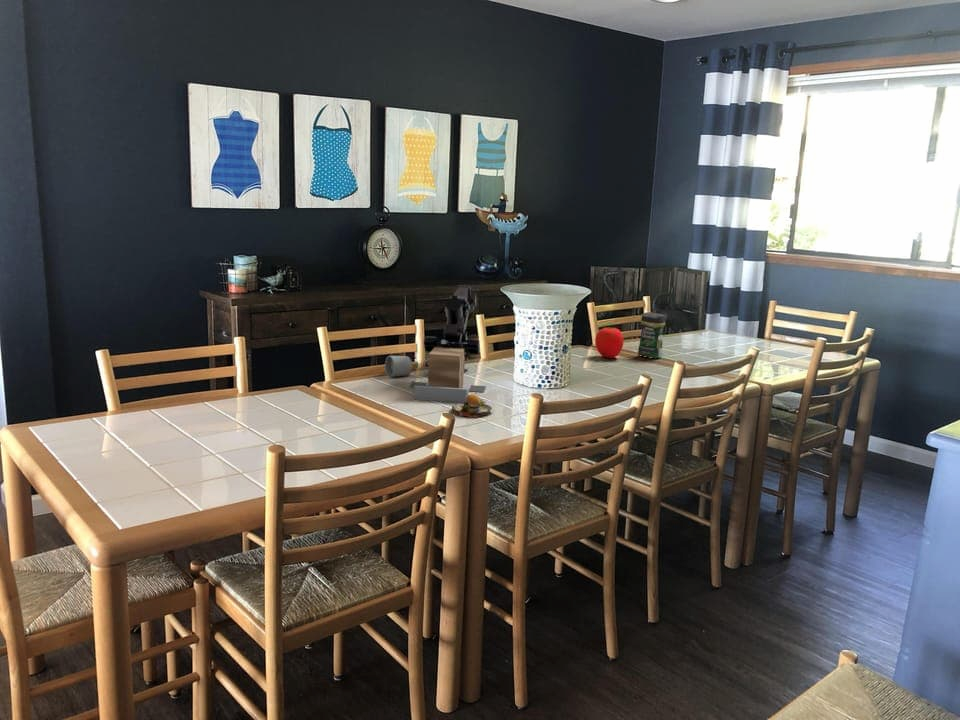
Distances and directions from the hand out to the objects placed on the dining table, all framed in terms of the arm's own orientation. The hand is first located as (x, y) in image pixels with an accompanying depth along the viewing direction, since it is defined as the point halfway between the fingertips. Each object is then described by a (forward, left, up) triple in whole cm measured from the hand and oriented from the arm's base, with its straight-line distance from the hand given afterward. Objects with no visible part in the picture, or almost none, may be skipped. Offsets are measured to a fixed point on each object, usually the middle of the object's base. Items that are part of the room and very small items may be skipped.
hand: (449, 366), depth 260 cm
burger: (+26, +19, -7) cm, 33 cm away
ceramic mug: (-5, -22, -7) cm, 24 cm away
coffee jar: (-88, +53, -7) cm, 103 cm away
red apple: (-77, +38, -7) cm, 86 cm away
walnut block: (+6, +2, -7) cm, 9 cm away
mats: (+2, +1, -7) cm, 7 cm away
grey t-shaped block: (+15, +4, -7) cm, 17 cm away
